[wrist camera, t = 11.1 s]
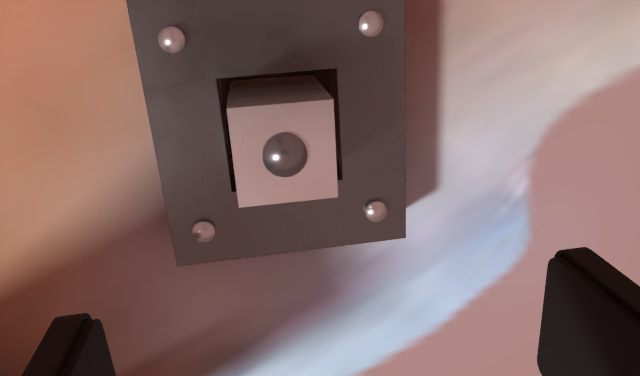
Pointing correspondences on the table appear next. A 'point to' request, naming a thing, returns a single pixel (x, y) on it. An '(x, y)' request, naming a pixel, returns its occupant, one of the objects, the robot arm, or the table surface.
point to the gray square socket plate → (269, 58)
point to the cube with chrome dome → (282, 140)
